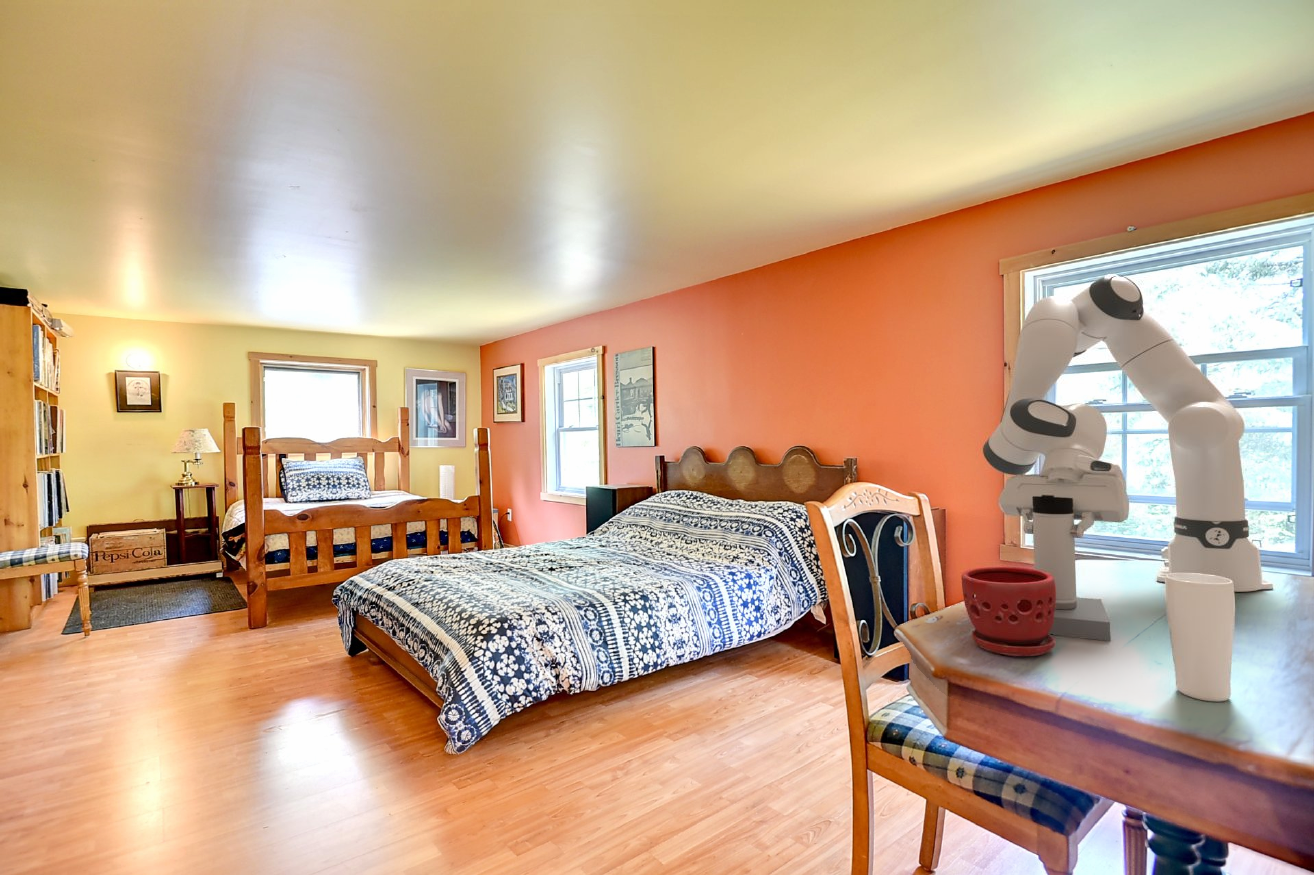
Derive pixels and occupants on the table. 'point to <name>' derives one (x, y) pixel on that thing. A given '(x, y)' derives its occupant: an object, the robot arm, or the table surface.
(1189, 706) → the table surface
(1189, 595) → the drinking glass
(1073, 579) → the travel mug
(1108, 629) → the gray rectangular block
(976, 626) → the plant pot
